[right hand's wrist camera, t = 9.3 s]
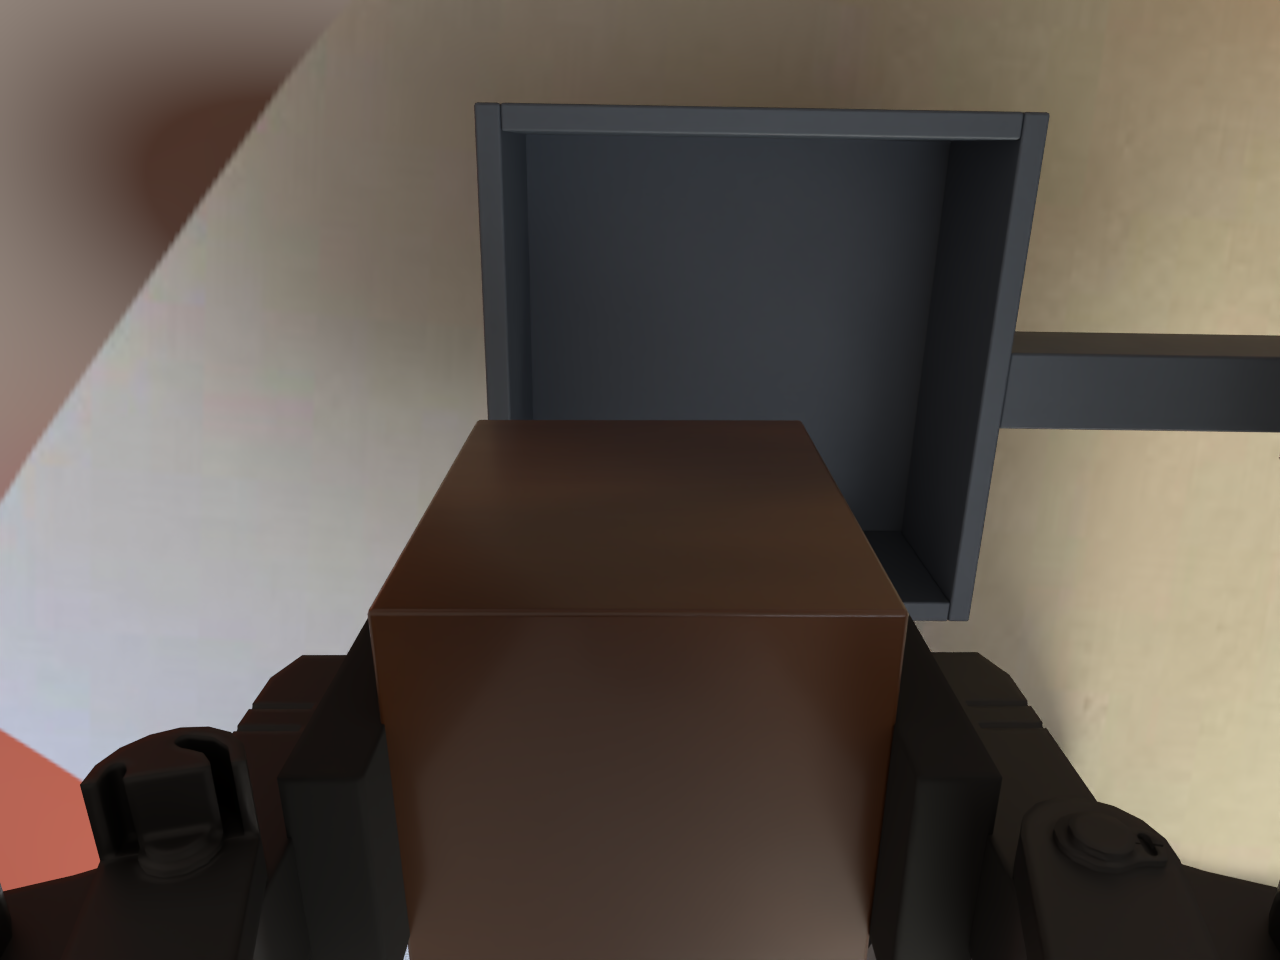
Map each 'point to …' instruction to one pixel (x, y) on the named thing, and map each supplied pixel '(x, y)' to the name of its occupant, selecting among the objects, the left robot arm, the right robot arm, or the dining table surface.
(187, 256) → the dining table surface
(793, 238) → the scoop
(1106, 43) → the dining table surface
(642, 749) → the walnut block
